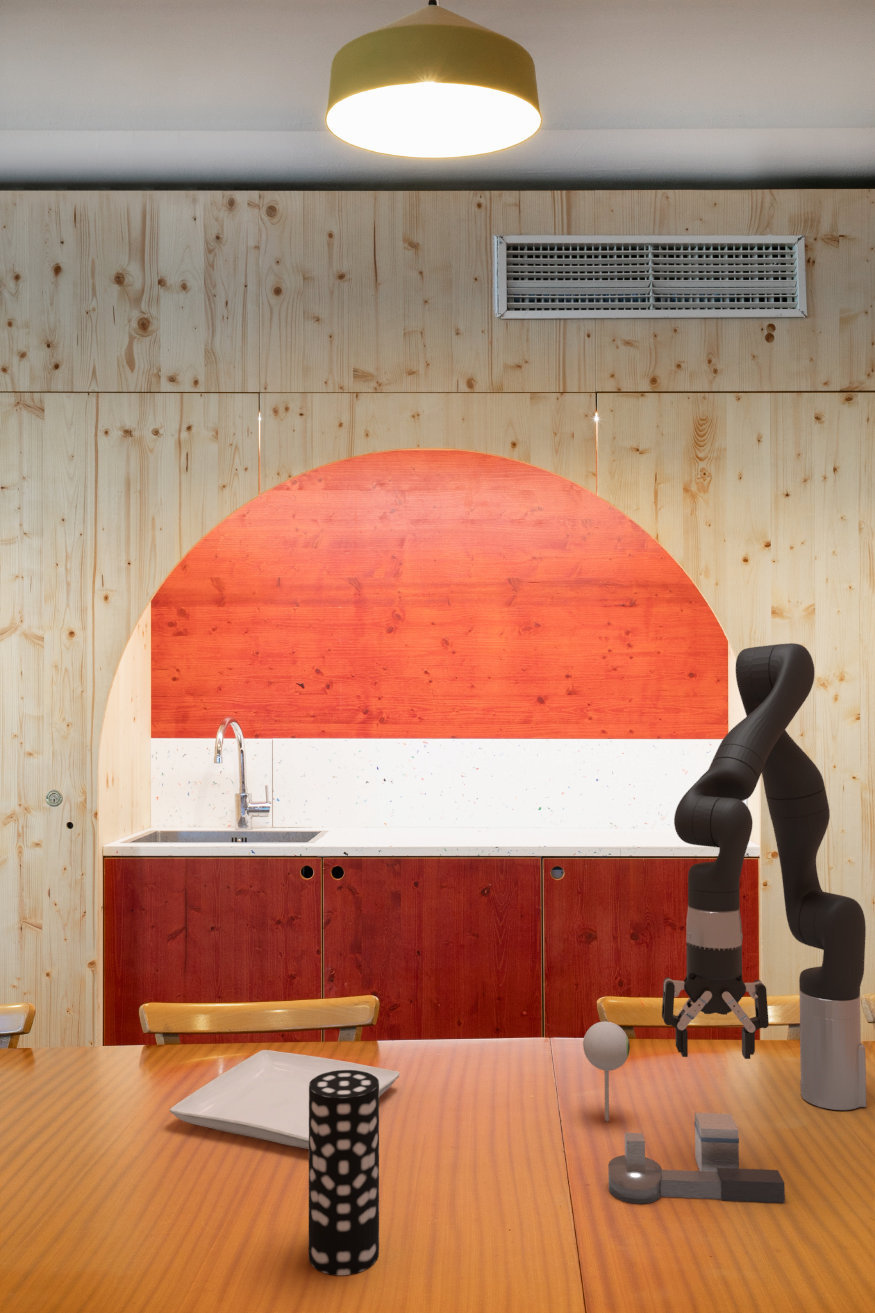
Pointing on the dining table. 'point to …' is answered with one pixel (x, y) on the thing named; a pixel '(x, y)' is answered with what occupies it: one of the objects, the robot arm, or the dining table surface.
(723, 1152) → the silver block
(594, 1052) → the lollipop
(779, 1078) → the dining table surface
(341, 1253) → the spotted tube
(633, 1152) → the ratchet
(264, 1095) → the square plate
